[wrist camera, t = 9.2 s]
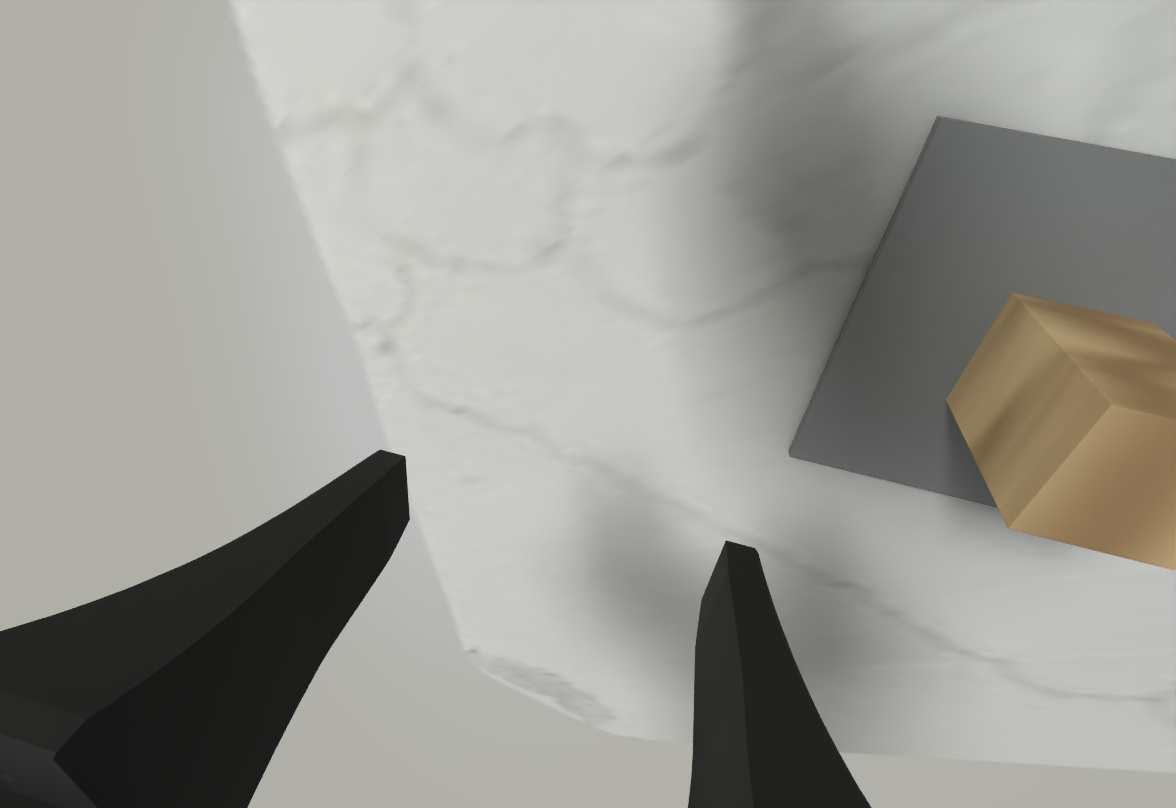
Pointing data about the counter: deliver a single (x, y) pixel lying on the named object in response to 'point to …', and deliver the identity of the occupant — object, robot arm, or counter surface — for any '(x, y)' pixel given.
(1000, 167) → the mat
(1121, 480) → the oak block
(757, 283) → the counter surface
